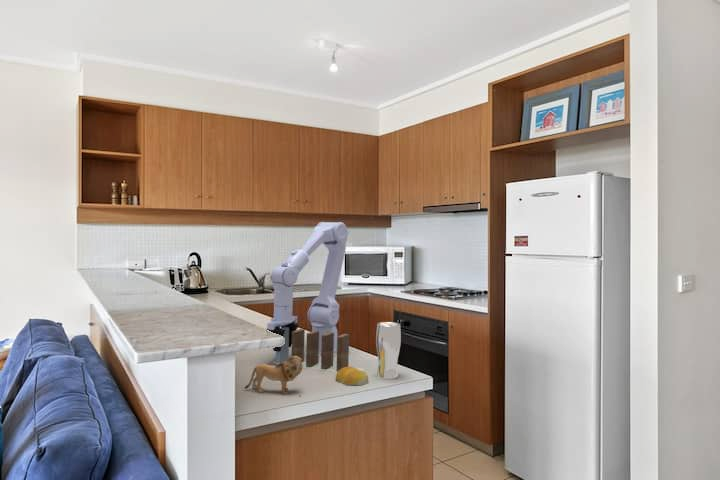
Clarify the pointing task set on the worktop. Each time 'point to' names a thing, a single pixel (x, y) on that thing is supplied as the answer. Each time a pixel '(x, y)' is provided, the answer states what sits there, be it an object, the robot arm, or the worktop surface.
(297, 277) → the robot arm
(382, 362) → the beer glass
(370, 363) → the worktop surface
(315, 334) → the domino
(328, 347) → the domino
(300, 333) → the domino
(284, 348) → the domino
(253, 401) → the worktop surface
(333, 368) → the mat
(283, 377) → the lion figurine
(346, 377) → the bread roll
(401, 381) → the worktop surface
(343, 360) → the domino
